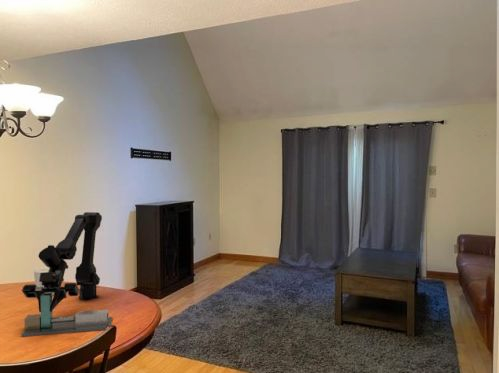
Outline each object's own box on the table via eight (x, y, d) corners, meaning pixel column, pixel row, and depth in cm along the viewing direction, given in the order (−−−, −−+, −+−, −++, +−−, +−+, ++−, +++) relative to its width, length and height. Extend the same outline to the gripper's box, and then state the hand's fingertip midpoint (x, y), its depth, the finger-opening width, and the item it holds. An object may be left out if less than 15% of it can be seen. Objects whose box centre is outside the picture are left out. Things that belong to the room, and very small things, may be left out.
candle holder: (62, 292, 180) (62, 267, 180) (45, 298, 171) (44, 272, 170) (46, 290, 183) (46, 266, 183) (29, 296, 174) (28, 271, 173)
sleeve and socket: (112, 319, 147) (112, 306, 147) (108, 329, 138) (108, 315, 137) (31, 325, 141) (31, 312, 141) (21, 336, 131) (21, 322, 131)
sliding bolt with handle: (84, 321, 142) (83, 290, 141) (82, 324, 139) (81, 293, 138) (31, 325, 138) (31, 294, 138) (29, 328, 135) (28, 296, 135)
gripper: (23, 263, 139) (9, 302, 129) (76, 261, 142) (66, 300, 131) (33, 278, 148) (20, 316, 137) (82, 276, 150) (74, 314, 140)
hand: (45, 311), depth 136 cm, fingers closed on sliding bolt with handle, 3 cm apart
